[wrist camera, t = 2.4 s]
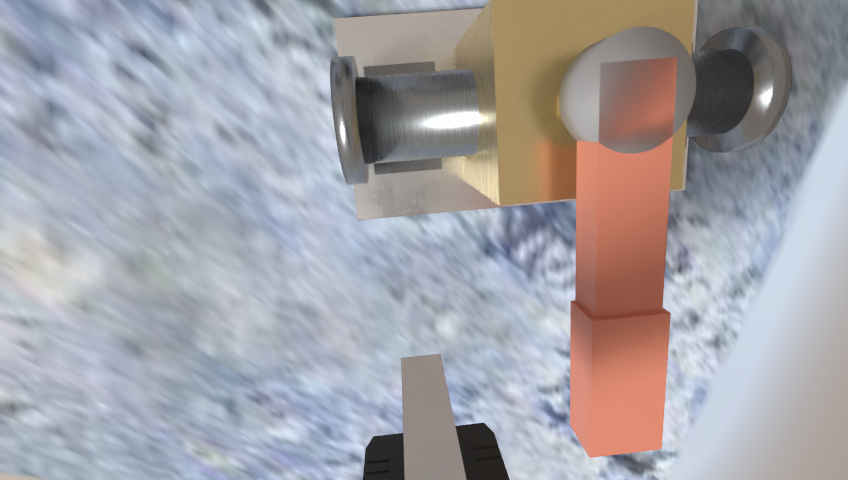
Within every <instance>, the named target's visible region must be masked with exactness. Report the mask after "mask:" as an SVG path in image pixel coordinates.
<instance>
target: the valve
mask: <svg viewBox="0 0 848 480" xmlns="http://www.w3.org/2000/svg"><path fill="white" fill-rule="evenodd" d="M697 12H698V0H489V1H488V3H487V4H486V5H485V7H484V8H479V9H464V10H450V11H435V12H421V13H407V14H392V15H378V16H363V17H349V18H334V23H335V32H336V40H337V49H338V57H332V59H331V65H330V83H331V99H332V109H333V118H334V126H335V133H336V140H337V146H338V152H339V157H340V162H341V166H342V170H343V174H344V177H345V180H346V182H347V184H348V185H353V184H354V191H355V199H356V208H357V216H358V220H364V219H375V218H386V217H397V216H408V215H419V214H430V213H441V212H452V211H463V210H474V209H485V208H496V207H507V206H518V205H529V204H540V203H551V202H562V201H573V200H576V179H577V141H576V140H575V139H574V138H573V137H572V136H571V135H570V134H569V132H568V131H567V129H566V128H565V126H564V124H563V121H562V118H561V115H560V110H559V91H560V85H561V82H562V79H563V76H564V74H565V72H566V70H567V68H568V67H569V65H570V64H571V62H572V61H573V60H574V58H575V57H576V56H577V55H578V54H579V53H580V52H582V51H583V50H584V49H585V48H587V47H589V46H590V45H592V44H594V43H596V42H598V41H601V40H603V39H605V38H608V37H610V36H612V35H614V34H617V33H619V32H621V31H623V30H626V29H630V28H634V27H655V28H658V29H662V30H664V31H666V32H668V33H670V34H672V35H673V36H675V37H676V38H677V39H678V40H679V41H680V42H681V43H682V44H683V45H684V46H685V48H686V49H687V51H688V53H689V54H690V56H691V59H692V61H693V64H694V68H695V74H696V92H695V98H694V102H693V105H692V108H691V110H690V113H689V115H688V117H687V119H686V120H685V122H684V123H683V125H682V126H681V127H680V129H679V130H678V131H677V132H676V133H675V134H674V135H673V142H672V158H671V175H670V191H669V192H671V191H682V190H685V183H686V169H687V154H688V140H689V137H693V139H694V140H695V141H696V143H697V144H698V145H700V146H701V147H702V148H704V149H706V150H708V151H711V152H731V151H741V150H745V149H748V148H751V147H753V146H755V145H756V144H758V143H759V142H761V141H762V140H763V139H764V138H766V137H767V136H768V135H769V134H770V132H771V131H772V130H773V129H774V128H775V126H776V125H777V123H778V122H779V120H780V118H781V116H782V114H783V112H784V110H785V107H786V105H787V102H788V98H789V95H790V89H791V80H792V70H791V62H790V57H789V54H788V51H787V49H786V47H785V45H784V43H783V42H782V40H781V39H780V37H779V36H777V35H776V34H775V33H774V32H773V31H771V30H769V29H767V28H764V27H759V26H750V27H737V28H730V29H726V30H723V31H721V32H719V33H718V34H716V35H714V36H713V37H712V38H711V39H710V40H708V41H707V42H706V43H705V45H704V46H703V47H702V48H701V50H700V51H695V40H696V26H697Z"/></svg>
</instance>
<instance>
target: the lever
mask: <svg viewBox="0 0 848 480" xmlns="http://www.w3.org/2000/svg"><path fill="white" fill-rule="evenodd" d="M695 92H696V74H695V68H694V64H693V61H692V59H691V56H690V54H689V53H688V51H687V49H686V48H685V46H684V45H683V44H682V43H681V42H680V41H679V40H678V39H677V38H676V37H675V36H673V35H672V34H670V33H668V32H666V31H664V30H662V29H658V28H655V27H634V28H630V29H626V30H623V31H621V32H619V33H617V34H614V35H612V36H610V37H608V38H605V39H603V40H601V41H598V42H596V43H594V44H592V45H590V46H589V47H587V48H585V49H584V50H583V51H582V52H580V53H579V54H578V55H577V56H576V57H575V58H574V60H573V61H572V62H571V64H570V65H569V67H568V68H567V70H566V72H565V74H564V76H563V79H562V82H561V85H560V91H559V110H560V115H561V118H562V121H563V124H564V126H565V128H566V129H567V131H568V132H569V134H570V135H571V136H572V137H573V138H574V139H575V140H576V141H577V179H576V301H571V373H570V426H571V427H572V429H573V431H574V432H575V434H576V436H577V437H578V439H579V441H580V442H581V444H582V446H583V447H584V449H585V451H586V452H587V454H588V456H589V457H599V456H607V455H616V454H624V453H632V452H641V451H649V450H657V449H662V434H663V419H664V404H665V389H666V374H667V359H668V344H669V328H670V313H669V312H668V311H666V310H665V309H663V308H662V305H663V289H664V273H665V256H666V240H667V224H668V207H669V191H670V175H671V158H672V142H673V135H674V134H675V133H676V132H677V131H678V130H679V129H680V127H681V126H682V125H683V123H684V122H685V120H686V119H687V117H688V115H689V113H690V110H691V108H692V105H693V102H694V98H695Z"/></svg>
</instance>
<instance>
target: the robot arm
mask: <svg viewBox="0 0 848 480" xmlns="http://www.w3.org/2000/svg"><path fill="white" fill-rule="evenodd" d="M401 367H402V402H403V433H400V434H391V435H383V436H374V437H373V438H372V440H371V441H370V443H369V444H368V446H367V448H366V452H365V465H364V476H363V480H509V477H508V474H507V471H506V468H505V465H504V462H503V459H502V456H501V453H500V450H499V448H498V444H497V441H496V438H495V435H494V433H493V432H492V431H491V430H490V429H489V428H488V427H487V426H486V425H485V424H484V423H479V424H470V425H461V426H455V422H454V417H453V412H452V408H451V403H450V398H449V393H448V388H447V384H446V379H445V374H444V369H443V364H442V359H441V355H440V354H435V355H425V356H416V357H406V358H401Z"/></svg>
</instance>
